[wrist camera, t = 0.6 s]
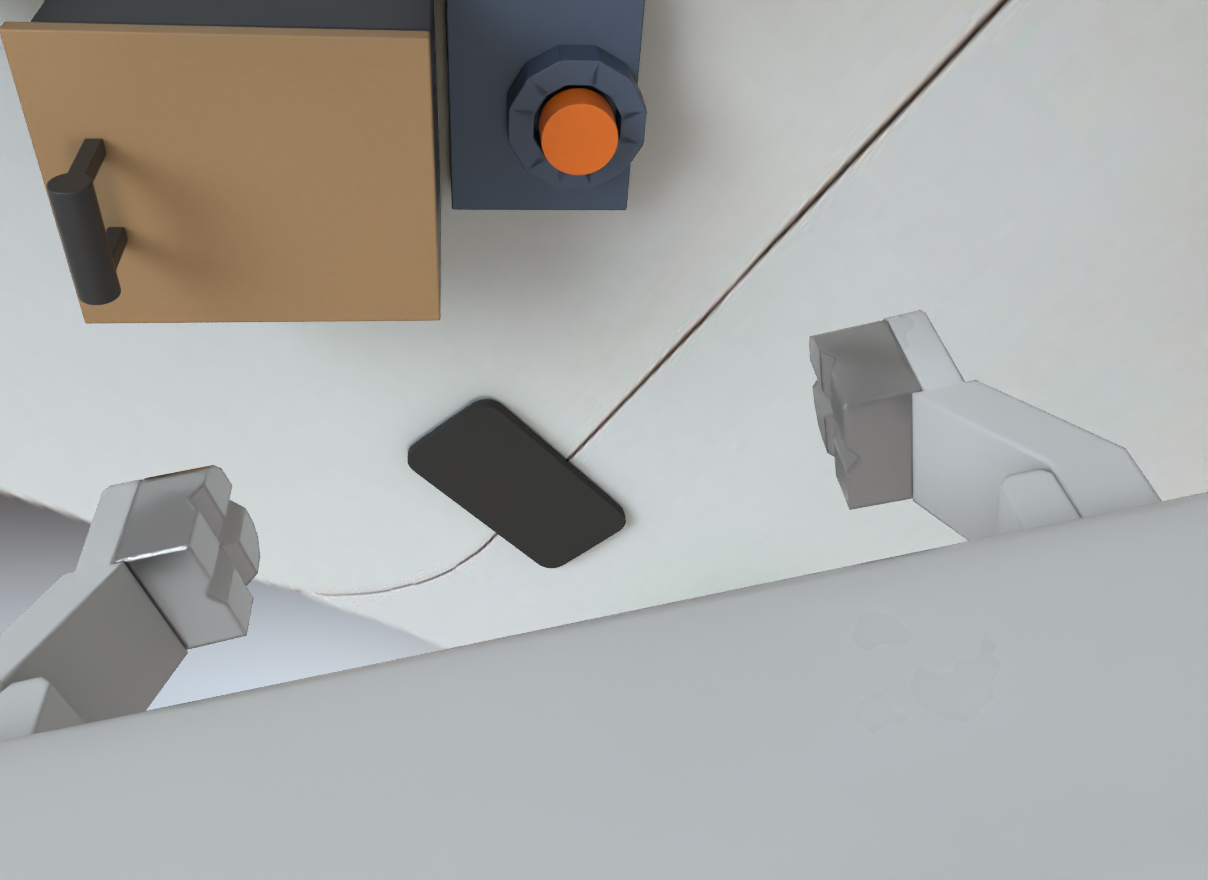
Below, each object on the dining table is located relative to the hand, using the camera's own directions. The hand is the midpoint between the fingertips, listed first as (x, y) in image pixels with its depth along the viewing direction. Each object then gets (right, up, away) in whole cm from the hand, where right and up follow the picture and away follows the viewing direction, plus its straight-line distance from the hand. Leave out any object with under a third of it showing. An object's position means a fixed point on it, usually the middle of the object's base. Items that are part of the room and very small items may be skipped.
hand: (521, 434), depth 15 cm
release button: (0, +15, +38) cm, 41 cm away
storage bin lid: (-14, +11, +32) cm, 36 cm away
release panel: (-2, +18, +41) cm, 45 cm away
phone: (-4, -3, +59) cm, 59 cm away
